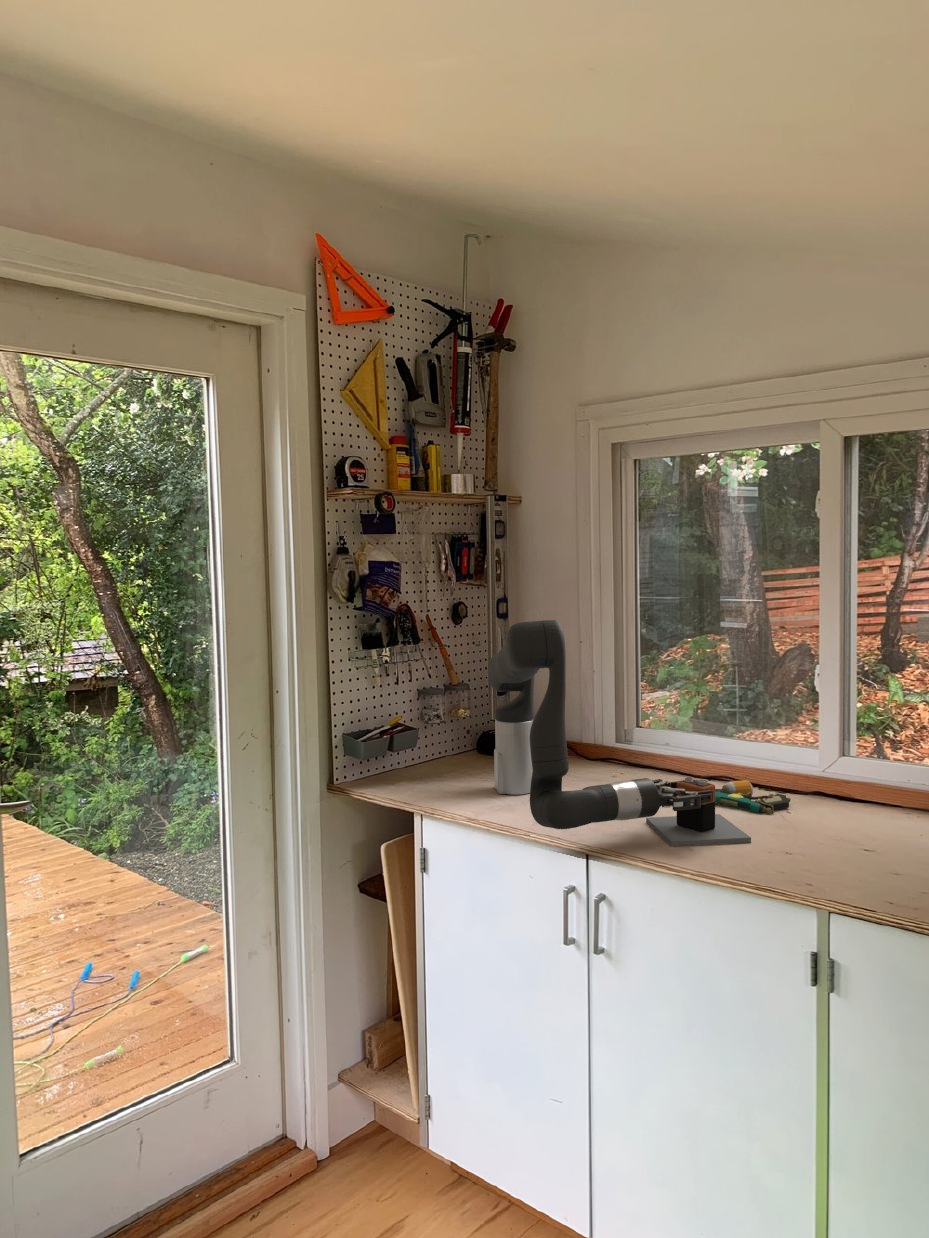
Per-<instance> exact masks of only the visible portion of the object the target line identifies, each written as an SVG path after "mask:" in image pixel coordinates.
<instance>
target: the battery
mask: <svg viewBox="0 0 929 1238" xmlns="http://www.w3.org/2000/svg"><path fill="white" fill-rule="evenodd" d="M678 781H679V782H677V788H678V789H685V790H686V791H687V792H698V791H706V790H710V791H712V792H713V801H712V802H706V803H701V808H698V809H688V810H680V811H676V816H677V825H679V826H682V827H686V828H689V829H692V830H696V831H699V832H704V831H708V830H711V829H714V828H715V814H716V803H715V789H716V785H715V784H713V783H709V780H707V779H706V778H698V779H694V778H693V777H692V776H685V777H684V779H683V781H682V780H678ZM678 796H681V793H678ZM686 796H687V795H686Z"/></svg>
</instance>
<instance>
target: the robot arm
mask: <svg viewBox="0 0 929 1238" xmlns="http://www.w3.org/2000/svg"><path fill="white" fill-rule="evenodd" d="M565 641H566V640H565V634H564V631H563V627H562V625H561V624H560V621H558V620H556V619H545V620H533V621H520V622H516V623H513V624H512V625H511V626H509V628H508V630H507V633H506V637H505V642H504V644H503V645H502V646H501V648H500V650H499V651H498V652H497V653H494V654H493V655H492V656H491V657H490V661H489V664H488V666H487V667H488V668H487V675H488V682H489V684H490V686H491V687H492V689H493V690H494V691H496V692H519V694H518V695H517V696H516V697H515V698H513V699H512V700H510V701H508V702H506V703H503V704H502V705H501V704H500V705H499V706H497V707H496V709H495V711H494V721H495V723H494V725H495V726H494V728H495V731H494V734H495V736H494V737H495V738H494V739H495V748H494V750H493V757H494V759H493V764H494V765H493V766H494V767H493V769H494V773H493V775H494V789H495V791H496V792H497V794H499V795H500V794H501V795H502V794H503V795H505V794H507V795H512V796H513V795H515V796H517V795H527V794H529V807H530V808H529V809H530V812H531V815H532V818H533V819H534V821H535V822H536V823H537V824H538V825H540V826H542V827H545V828H551V829H555V830H569V829H575V828H579V827H583V826H586V825H589V824H592V823H594V824H596V823H597V824H598V823H604V822H611V821H627V820H634V819H635V820H637V819H643V818H650V817H653V816H654V817H655V815H657V814H658V811H659V810H660V809H661V807H662V808H665V809H666V808H667V809H669V808H672V811H674V812H677V811H680V810H688V809H698V808H701V803H706V802H712V801H713V792H712V791H710V790H706V791H698V792H687V791H686V790H685V789H678V788H677V782H679V781H680V780H676V781H669V780H664V781H663V779H661V778H658V779H657V778H656V779H650V778H648V777H644V778H643V777H642V778H634V779H626V780H619V781H614V782H610V783H605V784H597V785H589V786H587V787H584V788H582V789H576V790H563V789H562V788H563V777H564V776H566V775H567V773H568V772H569V769H570V767H569V752H568V745H567V736H566V735H567V733H566V695H567V694H566V692H567V691H566V689H567V688H566V686H567V684H566V683H567V679H566V676H567V673H566V672H567V669H566V664H567V663H566V658H567V657H566V656H567V655H566V653H567V652H566V642H565ZM540 669H548V670H549V671H548V673H549V676H548V685H547V687H546V688H547V689H546V691H545V694H544V697H543V699H542V701H541V703H540V706H539V708H538V709H537V712H536V714H534V709H535V708H534V691H535V689H534V688H535V675H537V673H538V671H539V670H540ZM683 780H684V779H683ZM683 780H681V781H683ZM678 793H681V796H678ZM686 795H687V796H686Z"/></svg>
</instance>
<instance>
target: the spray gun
mask: <svg viewBox="0 0 929 1238" xmlns="http://www.w3.org/2000/svg"><path fill="white" fill-rule="evenodd" d="M721 787H722V788H715V804H716V805H724V806H728V807H731V808H736V809H740V810H744V811H749V812H751V813H756V814H763V813H767V814H772V815H773V814H774V811H777V810H778V811H779V810H782V809H788V808H789V806H790V802H791V798H790V797H787V796H786V794H781V793H775V794H774V793H769V794H768V795H767V794H766V795H759V796H753V794H754V787H753V785H752V783H751V782H750V780H747V779H746V780H745V779H743V780H735V781H734V780H733V781H728V782H726V784H723V785H722V786H721Z"/></svg>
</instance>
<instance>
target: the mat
mask: <svg viewBox="0 0 929 1238" xmlns="http://www.w3.org/2000/svg"><path fill="white" fill-rule="evenodd" d="M645 823H646V824H647V825H648V826H649V827H650V828H651V829H652V830H653V831H654V832H655V833H657V834H658V835H659V837H661V838H662V839H663V840H664V841H665V842H666V843H667V844H668V845H669V846H671V847H688V846H691V847H692V846H707V845H709V846H712V845H727V844H729V845H730V844H748V843H752V837H751V836H750V835H748V833H747V832H746V833H745V831H743V830H742V829H740V828H739V827H738V826H736V825H735V824H733V823H732V822H731V821H730V820H728V819H727V818H725V816H722V815H721V814H720V813H719V814H717V813H715V828H714V829H711V830H708V831H704V832H699V831H696V830H692V829H689V828H686V827H682V826H679V825H677V815H675V816H657V817H656V816H654V817H653V816H651V817H645Z"/></svg>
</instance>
